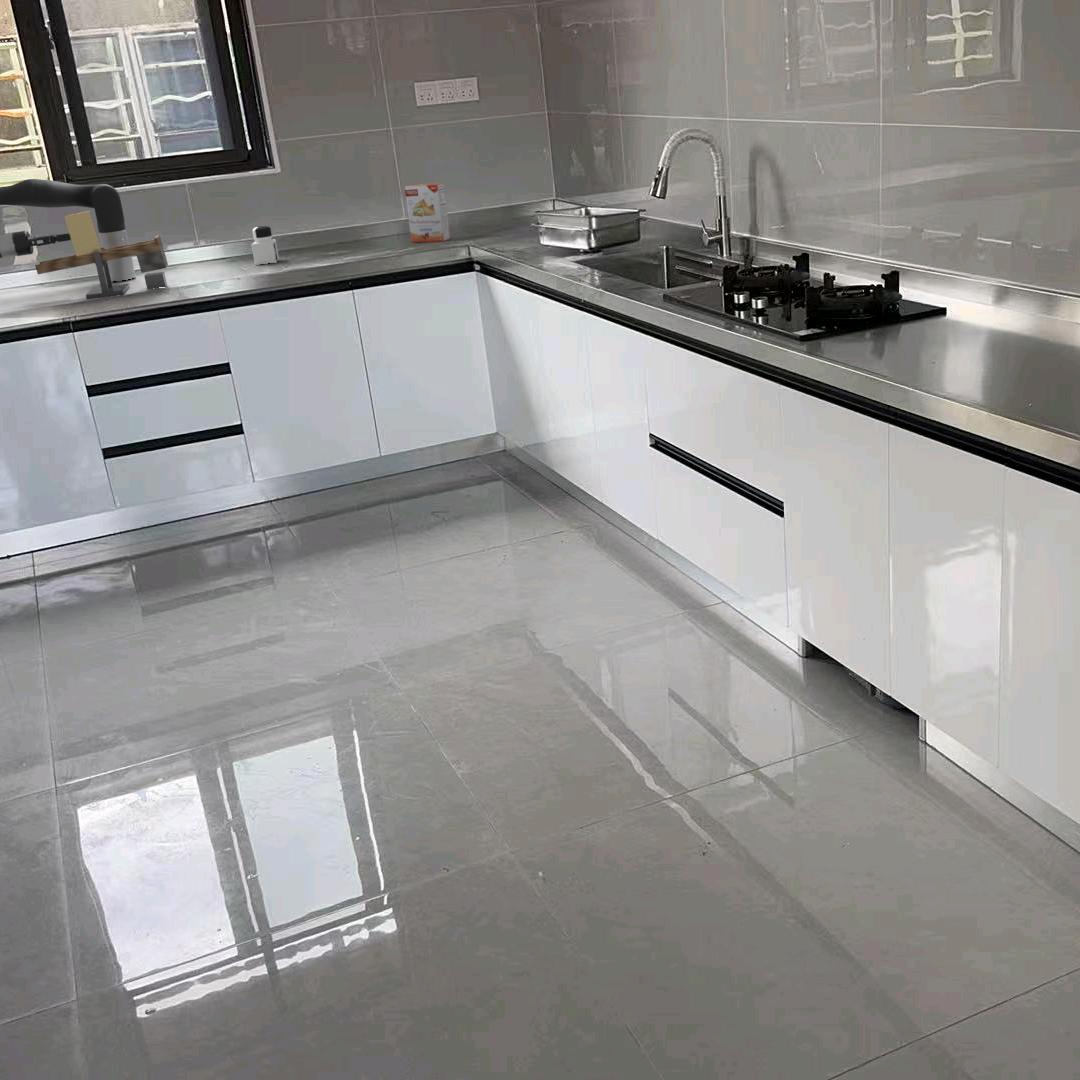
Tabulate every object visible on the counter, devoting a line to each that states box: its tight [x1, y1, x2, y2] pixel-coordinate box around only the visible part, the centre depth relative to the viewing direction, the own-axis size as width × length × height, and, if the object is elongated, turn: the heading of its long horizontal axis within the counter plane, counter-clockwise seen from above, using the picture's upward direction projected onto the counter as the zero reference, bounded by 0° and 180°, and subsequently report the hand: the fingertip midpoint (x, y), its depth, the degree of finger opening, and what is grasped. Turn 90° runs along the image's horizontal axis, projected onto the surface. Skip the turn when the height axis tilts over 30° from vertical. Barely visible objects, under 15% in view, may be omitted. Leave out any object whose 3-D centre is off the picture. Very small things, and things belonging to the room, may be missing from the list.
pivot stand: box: [85, 247, 168, 300], centre depth 405 cm, size 25×16×14 cm, turn 101°
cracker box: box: [404, 182, 451, 243], centre depth 454 cm, size 14×6×21 cm, turn 67°
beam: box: [35, 234, 169, 275], centre depth 403 cm, size 40×9×10 cm, turn 101°
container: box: [250, 225, 280, 266], centre depth 441 cm, size 8×8×13 cm
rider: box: [64, 210, 102, 257], centre depth 399 cm, size 8×5×14 cm, turn 110°
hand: (69, 236), depth 395 cm, fingers closed
